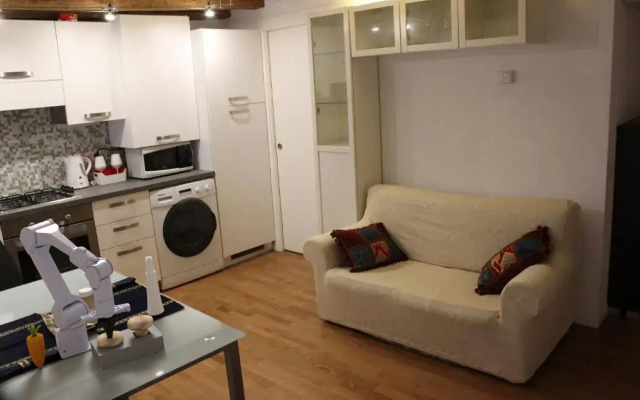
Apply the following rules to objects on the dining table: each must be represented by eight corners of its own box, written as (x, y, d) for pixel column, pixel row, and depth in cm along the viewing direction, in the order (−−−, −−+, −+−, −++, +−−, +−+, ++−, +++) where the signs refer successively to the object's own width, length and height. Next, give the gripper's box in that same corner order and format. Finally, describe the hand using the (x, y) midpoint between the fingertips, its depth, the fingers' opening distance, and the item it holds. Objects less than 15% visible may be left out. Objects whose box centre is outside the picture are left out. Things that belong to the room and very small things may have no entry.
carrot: (35, 364, 177) (27, 321, 173) (51, 363, 177) (43, 320, 173) (29, 373, 172) (20, 329, 168) (45, 371, 172) (37, 327, 168)
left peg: (102, 363, 173) (99, 346, 172) (96, 353, 180) (93, 336, 178) (128, 355, 178) (126, 337, 176) (121, 345, 184) (118, 328, 182)
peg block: (101, 370, 171) (99, 356, 170) (92, 354, 181) (89, 340, 180) (164, 349, 182) (162, 335, 181) (152, 335, 192) (150, 321, 190)
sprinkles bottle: (98, 324, 201) (93, 290, 198) (85, 328, 199) (79, 293, 195) (95, 319, 205) (90, 286, 202) (82, 323, 203) (77, 289, 199)
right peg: (133, 346, 178) (131, 329, 176) (126, 336, 184) (124, 319, 183) (158, 338, 182) (156, 321, 181) (150, 328, 189) (148, 312, 187)
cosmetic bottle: (143, 314, 208) (136, 259, 202) (154, 307, 213) (147, 253, 207) (157, 316, 205) (149, 260, 200) (167, 309, 211) (160, 254, 205)
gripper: (82, 309, 166) (89, 349, 170) (130, 295, 174) (136, 334, 178) (76, 301, 172) (83, 340, 175) (124, 288, 180) (129, 326, 183)
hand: (109, 337), depth 177 cm, fingers closed, pressing on left peg
